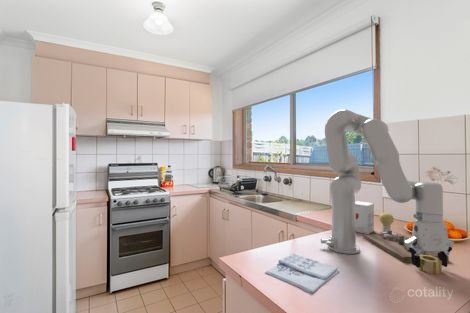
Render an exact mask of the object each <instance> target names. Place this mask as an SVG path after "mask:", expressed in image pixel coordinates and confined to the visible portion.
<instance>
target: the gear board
mask: <svg viewBox="0 0 470 313" xmlns="http://www.w3.org/2000/svg"><path fill="white" fill-rule="evenodd" d="M363 239H364V240H366V241H367V242H369V243H371V245H374V246H375V247H377V248H379V249H381V250H382V251H384V252H385V253H387V254H389V255H390V256H392V257H394V258H395V259H397V260H399V261H400V262H402V263H412V261H411V253H410V252H409V251H408V250H407V247H406V246H405V244H404V242H405V241H407V240H409V239H410V237H407V236H406V235H403V234H401V233H397V232H393V230H391V229H390V230H387V232H386V231H380V233H377V234H375V233H373V234H372V233H369V234H364V233H363ZM411 246H412V247H413V245H412V244H411ZM416 250H417V249H416ZM416 250H415V251H416ZM420 254H423V255H431V256H433V257H436V258H438V252H424V251H421V253H420ZM420 254H419V255H420ZM449 257H450V255H447V262H450V258H449Z"/></svg>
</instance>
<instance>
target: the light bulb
mask: <svg viewBox="0 0 470 313" xmlns="http://www.w3.org/2000/svg"><path fill="white" fill-rule="evenodd" d="M378 218H379V219H378V220H379V222H380V223H381V224H382V225H381V226H382V232H384V231H386V232H387V230H391V225H392V224H393V222H394V220H395V219H394V216H393V215H392V214H391V213H389V212H382V213H380V215H379V217H378Z"/></svg>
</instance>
